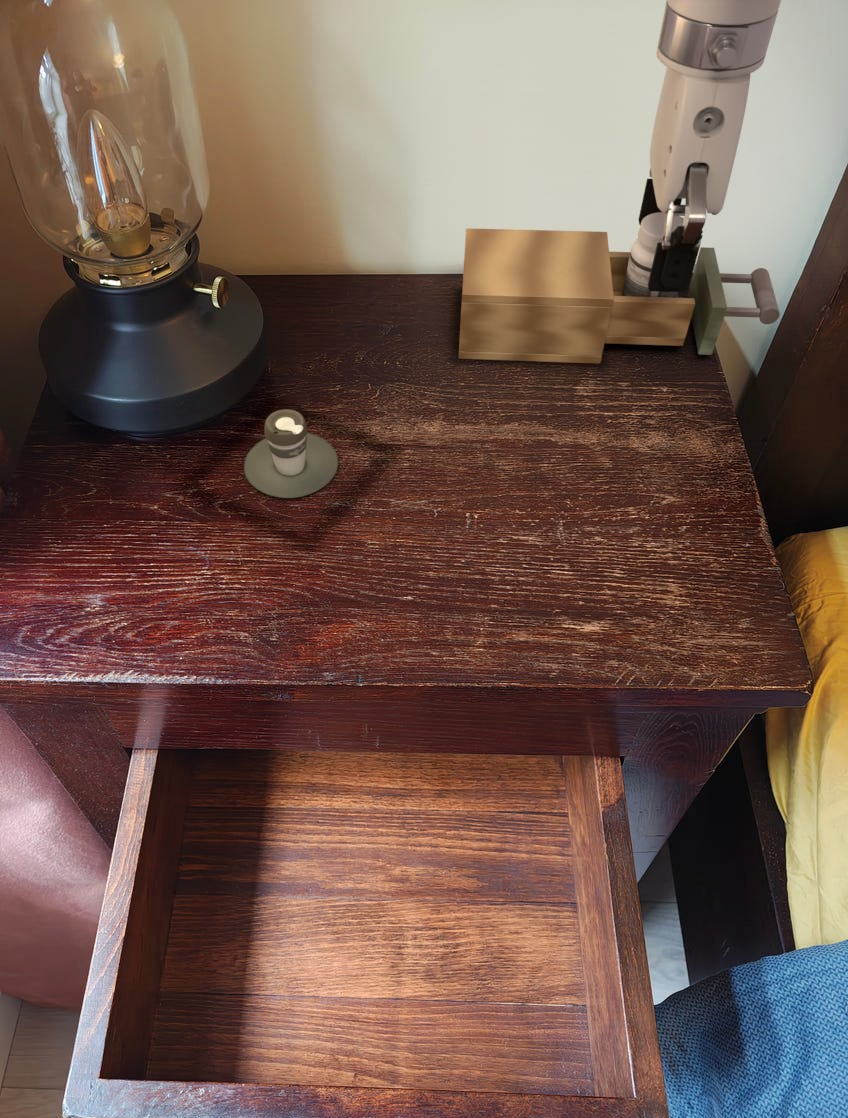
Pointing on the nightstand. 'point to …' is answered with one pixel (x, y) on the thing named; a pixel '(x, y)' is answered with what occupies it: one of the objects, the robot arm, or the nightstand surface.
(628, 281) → the pill bottle
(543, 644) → the nightstand surface
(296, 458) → the coffee cup
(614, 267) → the drawer
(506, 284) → the cabinet
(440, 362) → the nightstand surface
